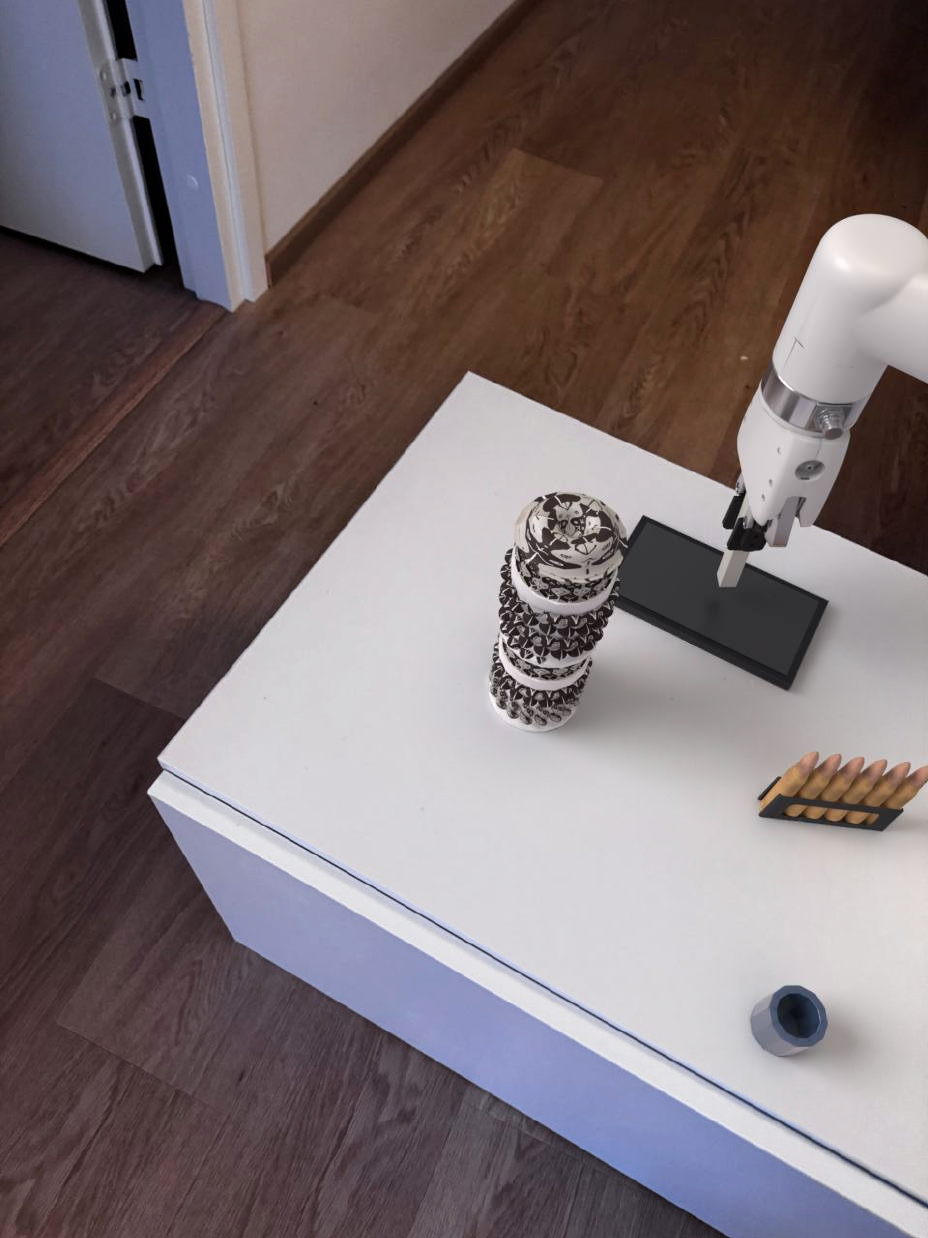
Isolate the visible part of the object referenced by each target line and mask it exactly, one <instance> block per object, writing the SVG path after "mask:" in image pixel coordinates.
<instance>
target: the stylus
mask: <svg viewBox="0 0 928 1238" xmlns="http://www.w3.org/2000/svg"><path fill="white" fill-rule="evenodd" d="M749 506H750V505H749V500H748V496H747V493H746V496H745V498H744V501H743V504H742V507H741V509H740V512H739V515H738V518H740V517H744V516H745V514H746V512H747V510H748V508H749ZM738 518H737V520H738ZM737 520H736V522H737ZM735 525H736V523H735ZM734 527H735V526H734ZM733 529H734V528H733ZM724 552H725V553H724V556H723V559H722V561H721V564H720V567H719V570H718V572H717V577H718V582H719V587H721V588H722V589H727V588H728V587H736V585H737V583H738V580H739V578H740V575H741V573H742V570H743V568H744V565H745V563H747V561H748V559H749V558H748V557H749V555H750V553H751V552H744V551H731V550H728V549H727V547H726V548H725V551H724Z"/></svg>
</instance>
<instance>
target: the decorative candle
mask: <svg viewBox="0 0 928 1238" xmlns="http://www.w3.org/2000/svg"><path fill="white" fill-rule="evenodd" d="M627 540H628V537H627V529H626V527H625V525H624V523H623V522H622V519H620V516H619V514H618V513H617V512H616V511H615V510H614V509H612V508H611V507H609V505H607V504H606V503H604V502H603V501H602V500H601V499H598V498H595V497H593V496H591V495H587V494H585V493H582V492H576V491H575V492H574V491H556V492H551V493H548V494H544V495H541V496H538V497H537V498H535V499H534V500H532V501H531V502H530V503H529V504H527V505H525V506H524V507H523V508H522V510H521V512H520V513H519V515H518V517H517V519H516V521H515V523H514V543H513V547H512V548H509V549H508V550H507V551H505V554H504V561H505V564H503V565H502V566H501V567H500V574H499V575H500V577H501V579H502V581H503V582H501V584H500V586H499V594H498V602H499V603H500V605H501V606H500V608H498V613H497V614H498V618H499V632H498V635H497V642H495V643H494V645H493V654H492V657H491V658H492V661H491V663H490V667H489V668H490V669H489V670H490V672H489V674H488V678H489V685H488V686H489V688H488V689H489V692H488V696H489V699H490V702H491V704H492V706H493V708H494V711H495V713H496V714H497V715H499V717H501V718H502V719H503V720H504V721H505V722H506V723H507V724H508V725H510V726H513V727H515V728H517V729H520V730H522V731H525V732H533V733H534V732H535V733H546V732H549V731H551V730H555V729H558V728H560V727H562V726H563V725H565V724H566V723H567V722H568V721H569V720H570V719H571V718H573V717H574V715H575V713H576V710H577V708H578V706H579V705H580V703H581V702H580V701H581V698H582V696H583V694H584V691H585V686H586V685H587V682H588V681H587V679H588V677H589V676H590V668H591V667H592V666H593V659H592V657H591V656H592V654H593V652H594V651H595V650H596V648H597V645H598V643H599V642H600V641H601V640H602V639H603V637H604V629H605V628H607V626H608V625H609V618H610V617H611V616H613V614H614V612H615V606H613V605H612V604H614V603H616V602H617V600H618V598H619V593H618V591H617V590H618V589H619V588H620V580H619V578H618V577H617V573H618V568H617V567H618V566H619V565H620V564H621V562H622V559H623V557H624V555H625V552H626V550H627V548H628V546H627ZM606 600H607V602H606Z"/></svg>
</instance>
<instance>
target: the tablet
mask: <svg viewBox="0 0 928 1238" xmlns="http://www.w3.org/2000/svg"><path fill="white" fill-rule="evenodd" d="M627 546H628V548H627V550H626V552H625V555H624V557H623V559H622V562H621V564H620V565H619V566H618V567H617V568H618V573H617V577H618V578H619V580H620V588H619V589H618V590H617V591H618V593H619V598H618V600H617V602H616V603H614V604H612V605H613V607H614V608H617V609H620V610H622V611H623V612H626V613H628V614H630V615H632V616H634V617H636V618H638V619H640V620H641V621H644V622H646V623H648V624H650V625H652V626H654V627H656V628H658V629H660V630H661V631H664V632H666V633H668V634H670V635H672V636H675V637H676V638H679V639H681V640H683V641H685V642H686V643H689V644H690V645H692V646H695V647H697V648H700V649H701V650H702V651H705V652H707V653H709V654H711V655H713V656H715V657H717V658H719V659H721V660H724V661H725V662H728V663H729V664H731V665H733V666H735V667H737V668H740V669H742V670H744V671H746V672H748V673H750V674H752V675H754V676H756V677H758V678H760V679H762V680H764V681H766V682H768V683H770V684H772V685H774V686H776V687H778V688H781V689H783V690H785V691H787V692H788V691H789V690H790V688H791V687H792V686H793V683H794V681H795V679H796V676H797V675H798V672H799V670H800V667H801V665H802V664H803V661H804V658H805V656H806V654H807V653H808V652H807V651H808V649H809V648H810V645H811V643H812V641H813V638H814V636H815V634H816V632H817V629H818V627H819V625H820V622H821V620H822V618H823V616H824V613H825V611H826V609H827V607H828V603H829V602H830V601H829V600H828V599H826V598H824V597H822V596H819V595H817V594H815V593H813V592H811V591H809V590H807V589H804V588H802V587H800V586H798V585H796V584H794V583H791V582H790V581H788V580H785V579H783V578H780V577H779V576H776V575H774V574H772V573H770V572H768V571H765V570H764V569H761V568H759V567H757V566H755V565H753V564H750V563H748V562H746V563H745V565H744V568H743V570H742V573H741V575H740V578H739V580H738V583H737V585H736V587H728V588H727V589H722V588H721V587H719V582H718V577H717V572H718V570H719V567H720V564H721V561H722V559H723V556H724V553H725V551H722V550H720V549H719V548H717V547H714V546H711V545H709V544H707V543H705V542H704V541H701V540H699V539H697V538H695V537H692V536H690V535H687V534H685V533H683V532H681V531H679V530H677V529H675V528H672V527H670V526H668V525H666V524H664V523H662V522H660V521H657V520H655V519H654V518H651V517H649V516H647V515H645V514H642V516H641V517H640V519H639V521H638V522H637V524H636V526H635V527H634V528H633V530H632V532H631V534H630V535H629V537H628V538H627ZM606 602H607V600H606Z"/></svg>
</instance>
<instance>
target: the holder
mask: <svg viewBox="0 0 928 1238" xmlns="http://www.w3.org/2000/svg"><path fill="white" fill-rule="evenodd" d="M749 1020H750V1029H751V1032H752V1033H751V1034H752V1035H753V1037H754V1039H755V1041H756V1042H757V1044H758V1045H759V1046H760V1047H761V1048H762V1049H763V1050H765V1051H766V1052H767V1053H769V1054H771V1055H774V1056H775V1057H792V1056H794V1055H797V1054H799V1053H801V1052H804V1051H806V1050H808V1049H810V1048H812V1047H814V1046H816V1044H819V1042H820V1041H822V1040H824V1038H825V1035H826V1032H827V1028H828V1025H829V1020H828V1017H827V1011H826V1007H825V1005H824V1004H823V1003H822V1001H821V999H819V997H818V995H816V993H815V992H813V991H812V990H810V989H808V988H806V987H804V986H802V985H800V984H799V985H798V984H794V985H793V984H792V985H791V984H788V985H787V984H786V985H783V986H782V987H780V988H778V989H776V990H775V991H774V992H771V993H770V994H769V995H768V996H766V997H765V998H763V999H761V1000H760V1001H759V1002H757V1003H756V1004H755V1005H754V1007H753V1009H752V1012H751V1015H750V1019H749Z"/></svg>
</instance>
